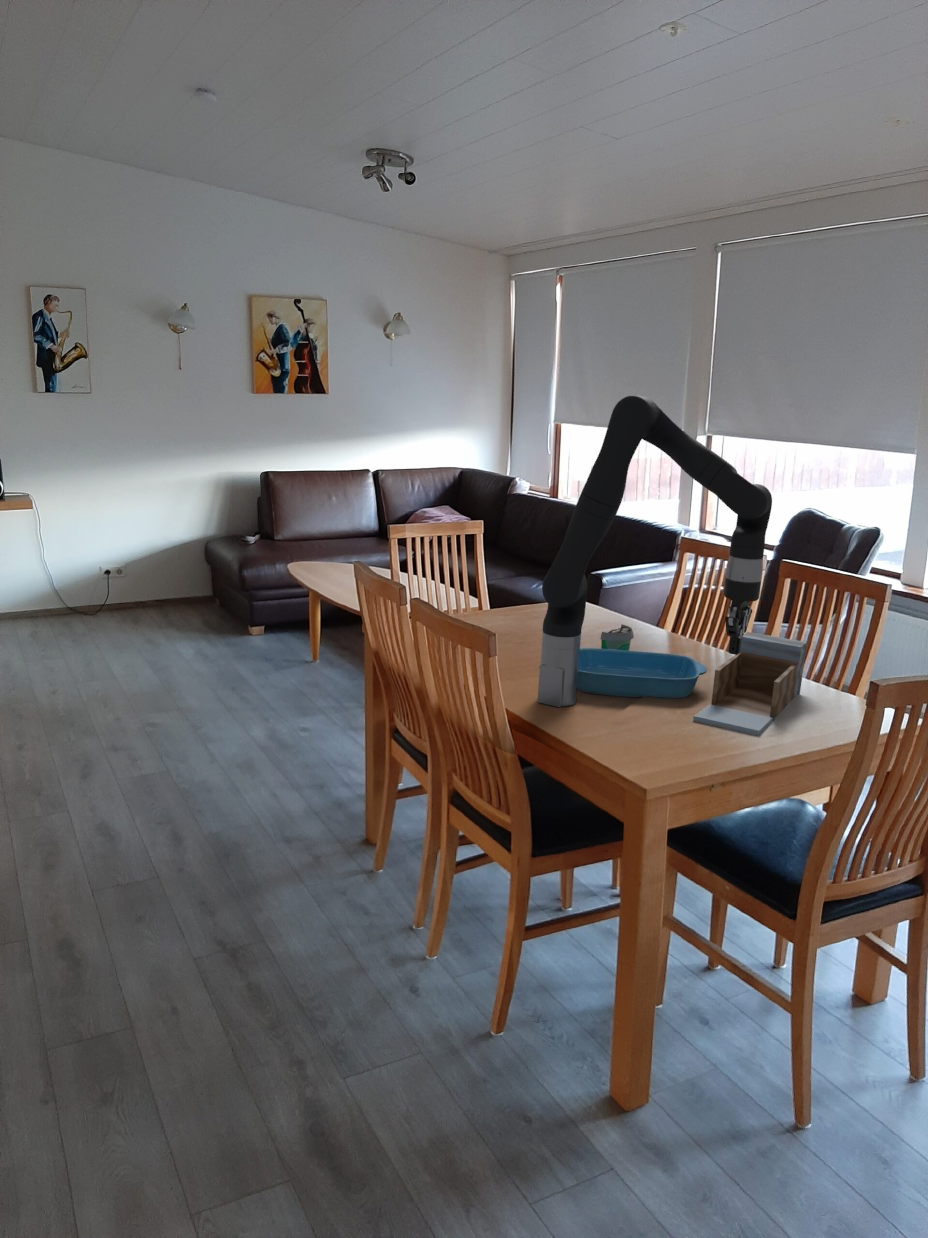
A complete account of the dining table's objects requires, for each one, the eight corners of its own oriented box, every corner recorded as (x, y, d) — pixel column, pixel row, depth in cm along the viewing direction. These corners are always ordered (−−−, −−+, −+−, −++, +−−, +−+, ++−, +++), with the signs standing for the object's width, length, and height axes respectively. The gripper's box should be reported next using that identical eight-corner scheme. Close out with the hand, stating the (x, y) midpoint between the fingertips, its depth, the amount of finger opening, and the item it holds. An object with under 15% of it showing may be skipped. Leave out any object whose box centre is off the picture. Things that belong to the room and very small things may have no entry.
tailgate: (774, 722, 220) (759, 736, 209) (709, 708, 228) (691, 720, 217) (775, 717, 220) (760, 731, 209) (709, 703, 228) (692, 715, 217)
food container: (618, 672, 255) (621, 636, 252) (598, 667, 258) (600, 632, 256) (639, 662, 264) (642, 628, 262) (619, 657, 268) (622, 623, 265)
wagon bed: (773, 723, 221) (780, 665, 217) (710, 709, 228) (716, 653, 225) (799, 694, 242) (806, 642, 239) (741, 682, 250) (747, 631, 246)
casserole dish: (556, 695, 235) (558, 667, 233) (561, 669, 256) (563, 643, 254) (707, 708, 229) (710, 680, 228) (700, 680, 251) (703, 655, 249)
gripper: (752, 584, 197) (742, 663, 202) (769, 575, 208) (759, 650, 213) (717, 579, 201) (708, 656, 206) (735, 570, 212) (726, 644, 216)
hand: (734, 653), depth 209 cm, fingers closed
